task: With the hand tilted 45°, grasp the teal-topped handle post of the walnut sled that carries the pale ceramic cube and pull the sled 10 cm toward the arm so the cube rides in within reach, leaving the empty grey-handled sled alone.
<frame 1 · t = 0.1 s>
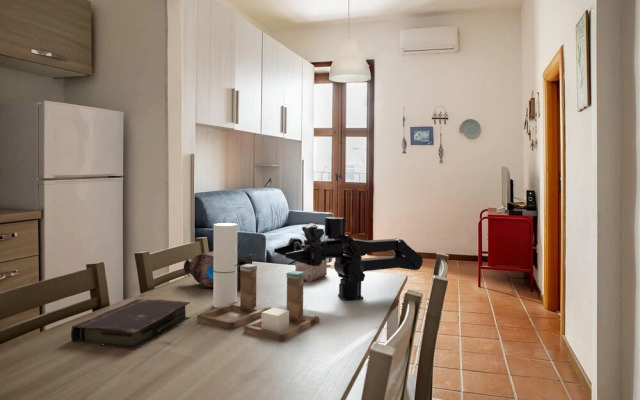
hand: (279, 253, 146), 17 cm above the table, tool horizontal, fingers open, 9 cm apart
diary: (136, 331, 125), on the table
cylindrical container: (225, 305, 148), on the table
food item: (311, 279, 186), on the table
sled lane: (283, 303, 125), point 7 cm above the table, slide at 0.0 cm, touching cube
cube: (275, 330, 122), point 1 cm above the table, touching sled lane
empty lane: (248, 315, 138), on the table
patterned brown vase: (217, 286, 172), on the table
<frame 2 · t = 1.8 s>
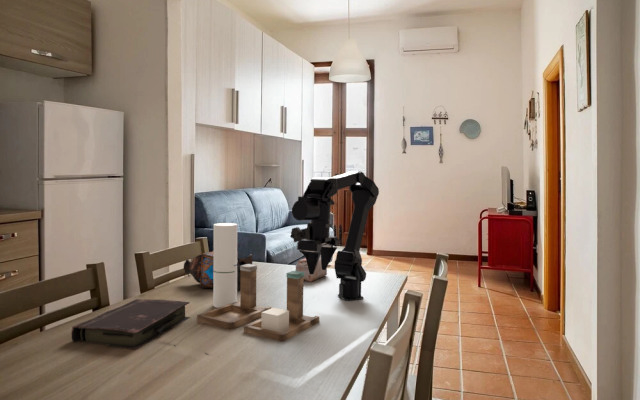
hand: (317, 271, 143), 12 cm above the table, tool pointing down, fingers open, 9 cm apart
nothing on the table moved.
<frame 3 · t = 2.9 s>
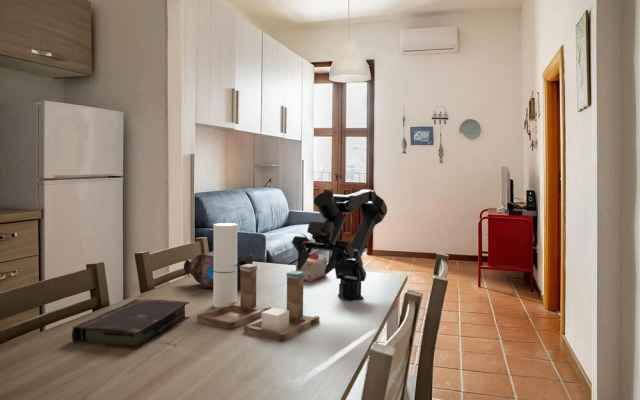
hand: (311, 271, 136), 13 cm above the table, tool tilted 45°, fingers open, 9 cm apart
nothing on the table moved.
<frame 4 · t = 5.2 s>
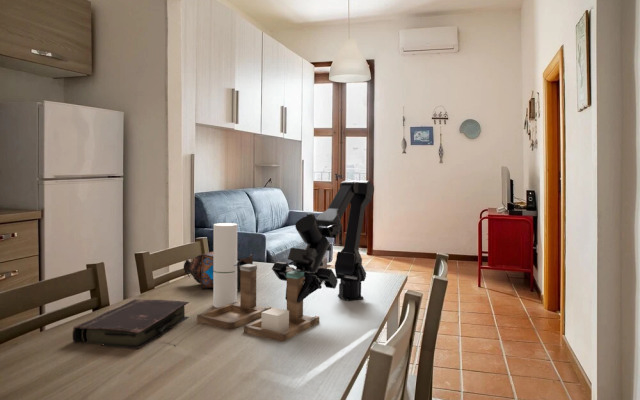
hand: (292, 300, 128), 7 cm above the table, tool tilted 45°, fingers closed on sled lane, 3 cm apart
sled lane: (283, 303, 125), point 7 cm above the table, slide at 0.0 cm, touching cube, gripper
everything else where it was.
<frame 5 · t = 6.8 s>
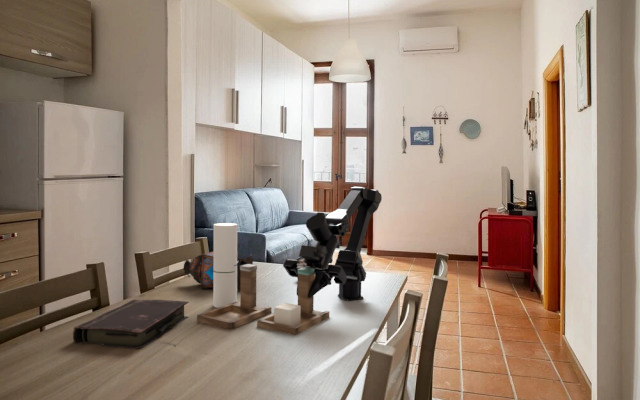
hand: (303, 296, 133), 7 cm above the table, tool tilted 45°, fingers closed on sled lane, 3 cm apart
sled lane: (294, 298, 129), point 7 cm above the table, slide at 5.5 cm, touching cube, gripper
cube: (287, 324, 127), point 1 cm above the table, touching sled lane
everything else where it was.
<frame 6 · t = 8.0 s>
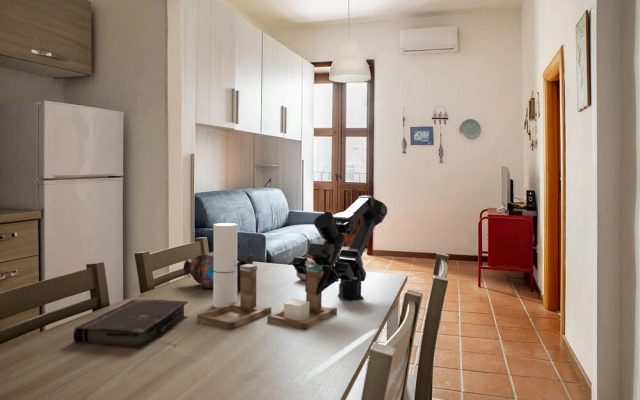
hand: (311, 292, 137), 7 cm above the table, tool tilted 45°, fingers closed on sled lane, 3 cm apart
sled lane: (303, 294, 133), point 7 cm above the table, slide at 9.9 cm, touching cube, gripper
cube: (296, 320, 131), point 1 cm above the table, touching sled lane
everything else where it was.
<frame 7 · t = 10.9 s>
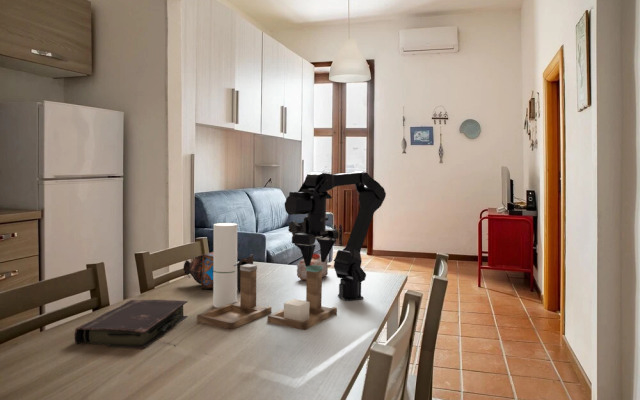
hand: (315, 264, 148), 13 cm above the table, tool pointing down, fingers open, 9 cm apart
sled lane: (303, 294, 133), point 7 cm above the table, slide at 10.0 cm, touching cube
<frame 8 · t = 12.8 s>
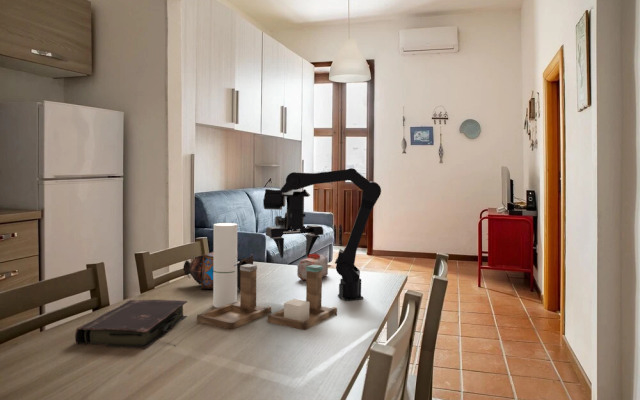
hand: (294, 256, 160), 13 cm above the table, tool pointing down, fingers open, 9 cm apart
at the end: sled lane slide at 10.0 cm; cube moved 10.0 cm from its start; cube 9.0 cm from the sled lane (horizontally) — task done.
